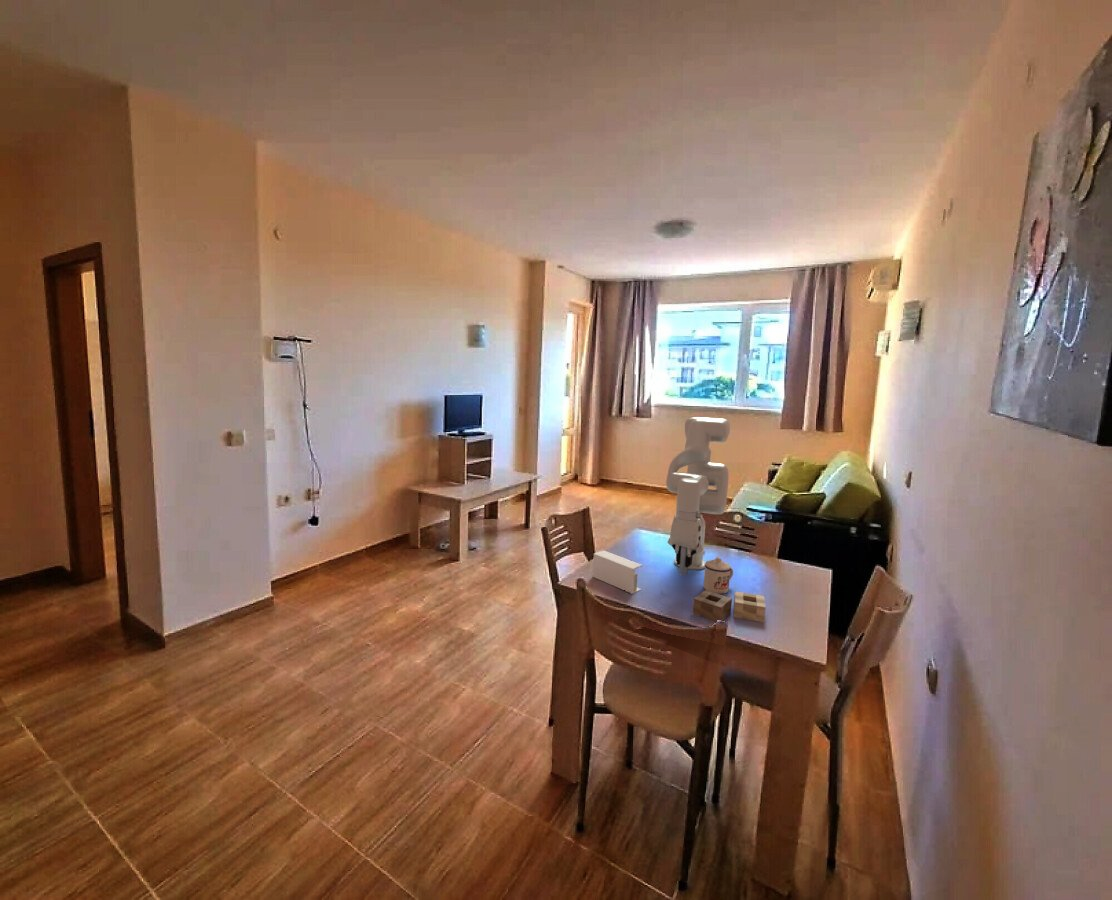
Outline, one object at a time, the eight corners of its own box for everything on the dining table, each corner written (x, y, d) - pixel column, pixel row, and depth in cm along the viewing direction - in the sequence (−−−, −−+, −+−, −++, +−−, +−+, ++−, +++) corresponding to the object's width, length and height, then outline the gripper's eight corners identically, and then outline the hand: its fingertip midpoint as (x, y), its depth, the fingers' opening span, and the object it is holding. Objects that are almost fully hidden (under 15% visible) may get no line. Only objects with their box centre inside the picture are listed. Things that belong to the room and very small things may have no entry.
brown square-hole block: (704, 604, 172) (705, 590, 171) (730, 612, 166) (732, 598, 165) (692, 613, 165) (693, 598, 164) (720, 622, 159) (721, 607, 158)
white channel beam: (641, 590, 181) (643, 565, 180) (631, 594, 177) (633, 568, 176) (600, 573, 196) (601, 549, 194) (590, 576, 192) (591, 552, 191)
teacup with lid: (715, 596, 179) (718, 564, 177) (697, 586, 187) (699, 555, 185) (740, 590, 184) (743, 559, 182) (722, 581, 192) (724, 551, 190)
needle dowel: (681, 570, 181) (683, 538, 179) (688, 573, 180) (690, 540, 177) (677, 573, 179) (680, 540, 177) (684, 575, 178) (687, 542, 175)
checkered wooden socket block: (733, 605, 172) (735, 591, 171) (762, 610, 169) (764, 595, 168) (733, 617, 163) (735, 602, 162) (764, 622, 160) (765, 607, 160)
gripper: (714, 516, 173) (710, 568, 177) (670, 507, 183) (667, 555, 187) (705, 522, 168) (701, 575, 171) (660, 512, 178) (657, 561, 181)
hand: (683, 564), depth 179 cm, fingers closed on needle dowel, 2 cm apart
